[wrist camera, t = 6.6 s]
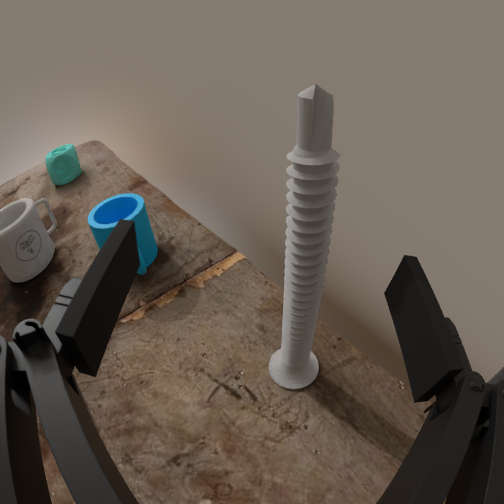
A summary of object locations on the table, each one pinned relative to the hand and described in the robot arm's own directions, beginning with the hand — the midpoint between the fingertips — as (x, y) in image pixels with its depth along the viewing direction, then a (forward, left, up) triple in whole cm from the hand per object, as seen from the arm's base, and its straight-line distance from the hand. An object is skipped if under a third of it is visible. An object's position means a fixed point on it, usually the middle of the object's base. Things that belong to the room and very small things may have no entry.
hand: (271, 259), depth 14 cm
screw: (+1, -4, -18) cm, 19 cm away
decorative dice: (+72, 0, -18) cm, 74 cm away
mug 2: (+27, 0, -18) cm, 33 cm away
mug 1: (+43, +14, -18) cm, 49 cm away
